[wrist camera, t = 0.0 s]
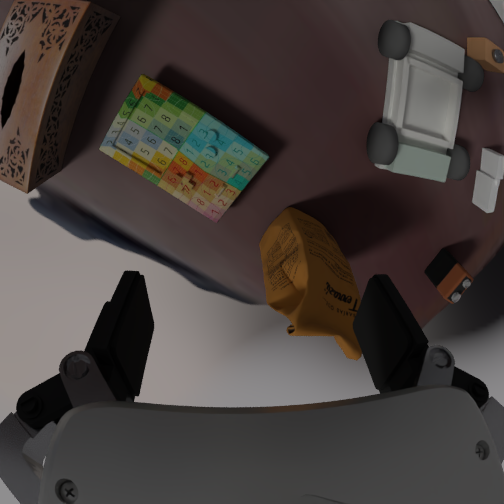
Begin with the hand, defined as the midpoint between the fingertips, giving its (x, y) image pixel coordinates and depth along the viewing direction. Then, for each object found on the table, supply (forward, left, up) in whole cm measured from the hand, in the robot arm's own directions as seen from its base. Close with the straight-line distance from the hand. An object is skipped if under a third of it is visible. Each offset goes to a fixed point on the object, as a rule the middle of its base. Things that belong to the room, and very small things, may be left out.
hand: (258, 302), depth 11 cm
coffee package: (+15, +10, -32) cm, 36 cm away
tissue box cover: (-12, -30, -32) cm, 45 cm away
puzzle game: (0, -8, -32) cm, 33 cm away
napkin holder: (-2, +47, -32) cm, 57 cm away
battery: (+19, +42, -32) cm, 56 cm away
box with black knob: (-25, +40, -31) cm, 57 cm away
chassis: (-11, +27, -31) cm, 43 cm away
